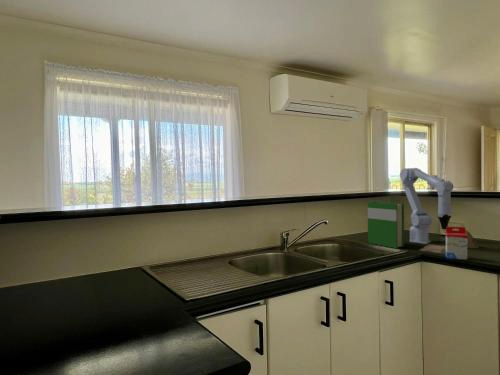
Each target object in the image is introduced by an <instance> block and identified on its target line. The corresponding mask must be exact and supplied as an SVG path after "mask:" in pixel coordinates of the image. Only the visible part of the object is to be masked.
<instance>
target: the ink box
mask: <svg viewBox="0 0 500 375" xmlns="http://www.w3.org/2000/svg"><path fill="white" fill-rule="evenodd" d="M465 230H466V227H465V226H448V227H446V229H445V246H446V253H445V257H446V259H451V260H468V248H467V242H468V235H467V234H465Z"/></svg>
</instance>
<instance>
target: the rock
mask: <svg viewBox="0 0 500 375" xmlns="http://www.w3.org/2000/svg"><path fill="white" fill-rule="evenodd" d="M465 234H467V235H468V242H467V249H468V248H470V249H479V245H478V242H477V240H476V238H474V236H473V235H472V234H471V233H470V232H469V231H468V230H467V229H465Z"/></svg>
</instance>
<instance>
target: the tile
mask: <svg viewBox="0 0 500 375" xmlns="http://www.w3.org/2000/svg"><path fill="white" fill-rule="evenodd" d="M423 247H424V250H427V251H426V252H429V251H435V252H434V253H437V252H442V251H444V250H446V245H436V244H427V245H425V246H423Z"/></svg>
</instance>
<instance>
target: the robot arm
mask: <svg viewBox="0 0 500 375" xmlns="http://www.w3.org/2000/svg"><path fill="white" fill-rule="evenodd" d="M399 178H400V179H401V182H402V187H403V189H404V193H405V195H406V197H407V200H408V203H409V205H410V208H411V210H412V213H411V214H410V218H411V226H410V227H409V242H410V243H418V244H427V245H428V243H431V242H432V240H429V227H430V225H432V221H433V219H432V217H431V216H430V215H429V213H428V211H426V210H425V209H424V208H423V206H422V204H421V201H420V198H419V196H418V194H417V191H416V189H415V186H414V185H415V183H416V182H417V181H418V179H421V180H423V181H426V184H427V185H428V186H430V187H432V188H435V190H436V191H437V195H438V196H437V198H438V199H437V200H438V201H437V203H438V206H437V207H438V208H437V209H438V210H437V218H438V220H439V224H440V227H441V229H442V230H446V227H449V222H450V220H451V218H452V215H453V214H454V212H453V211H452V210H451V209H452V208H451V206H452V205H451V201H452V200H451V197H452V196H451V192H452V191H453V189H454V184H453V182H452V181H450V180H445V179H444V178H440V177H438V175H435V174H434V175H430V174H428V173H426V172H425V171H422V170H421V169H420V168H417V167H414V168H413V167H412V168H407V167H404V168H401V170H400V173H399Z"/></svg>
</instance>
